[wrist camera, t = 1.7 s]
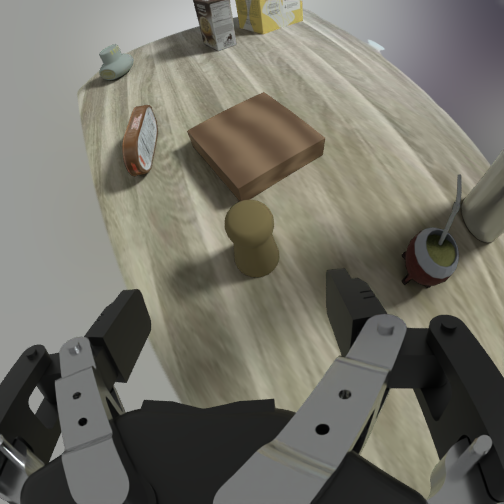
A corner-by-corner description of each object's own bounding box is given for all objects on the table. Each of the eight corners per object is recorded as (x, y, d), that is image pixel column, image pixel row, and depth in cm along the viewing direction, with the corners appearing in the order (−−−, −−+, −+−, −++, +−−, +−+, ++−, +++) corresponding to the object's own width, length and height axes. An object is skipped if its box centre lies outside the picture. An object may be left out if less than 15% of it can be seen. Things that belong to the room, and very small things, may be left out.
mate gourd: (415, 304, 34) (478, 267, 20) (381, 260, 36) (426, 203, 23) (445, 272, 35) (504, 226, 21) (413, 232, 37) (459, 172, 24)
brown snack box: (203, 44, 66) (191, -1, 51) (221, 37, 67) (213, -7, 52) (217, 51, 62) (207, 2, 47) (238, 44, 63) (229, -4, 48)
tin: (148, 128, 52) (134, 98, 44) (162, 125, 52) (149, 94, 44) (136, 186, 46) (114, 155, 38) (152, 182, 46) (132, 151, 38)
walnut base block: (265, 107, 50) (263, 92, 46) (322, 154, 44) (325, 138, 41) (193, 146, 48) (187, 130, 44) (242, 204, 42) (238, 188, 38)
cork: (227, 267, 38) (207, 230, 28) (246, 229, 40) (233, 183, 30) (268, 284, 37) (262, 252, 27) (286, 244, 39) (286, 201, 29)
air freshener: (140, 64, 65) (129, 39, 56) (124, 80, 63) (111, 54, 54) (116, 67, 68) (105, 44, 59) (100, 83, 65) (87, 59, 56)
